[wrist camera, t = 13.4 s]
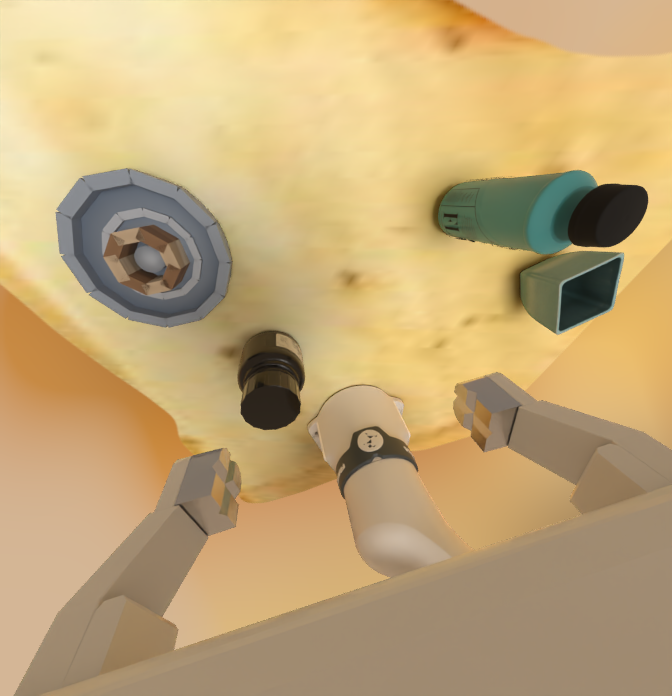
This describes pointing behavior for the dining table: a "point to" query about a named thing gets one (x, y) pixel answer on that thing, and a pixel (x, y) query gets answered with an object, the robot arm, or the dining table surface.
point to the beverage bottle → (543, 212)
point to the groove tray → (143, 245)
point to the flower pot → (571, 288)
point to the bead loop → (127, 269)
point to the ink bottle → (271, 380)
